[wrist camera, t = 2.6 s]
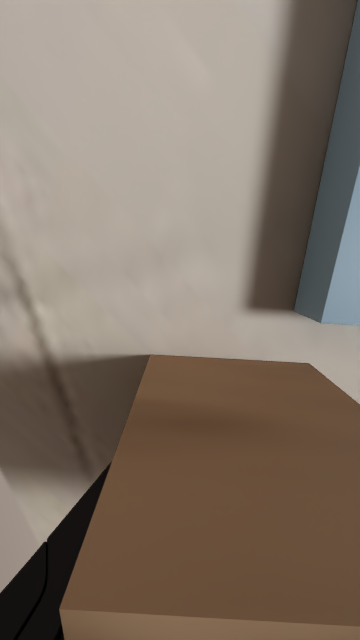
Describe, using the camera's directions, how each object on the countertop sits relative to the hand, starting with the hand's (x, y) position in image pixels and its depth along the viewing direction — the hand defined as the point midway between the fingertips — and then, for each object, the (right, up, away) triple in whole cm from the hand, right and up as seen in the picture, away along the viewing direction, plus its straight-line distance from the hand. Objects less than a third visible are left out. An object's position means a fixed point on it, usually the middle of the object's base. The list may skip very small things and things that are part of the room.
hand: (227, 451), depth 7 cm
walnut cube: (0, 0, +1) cm, 1 cm away
